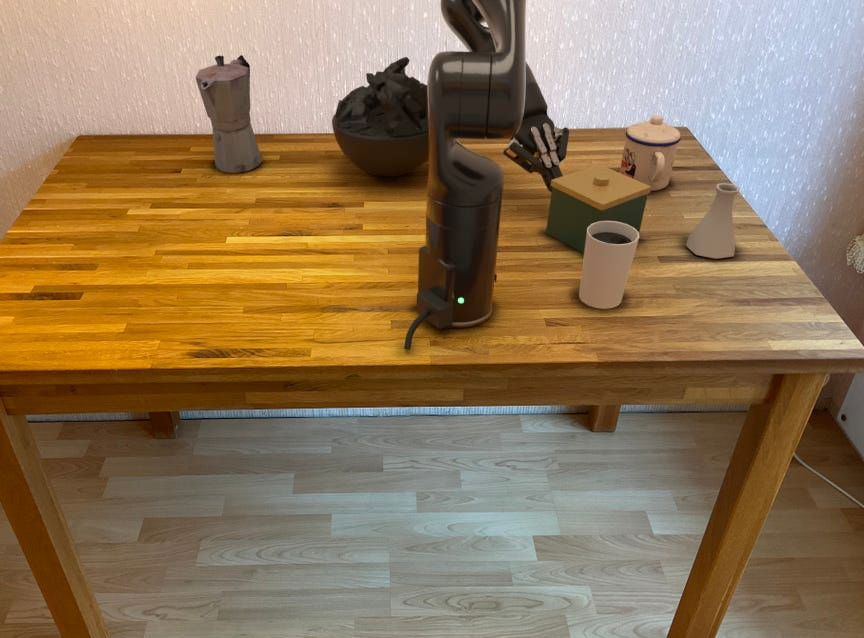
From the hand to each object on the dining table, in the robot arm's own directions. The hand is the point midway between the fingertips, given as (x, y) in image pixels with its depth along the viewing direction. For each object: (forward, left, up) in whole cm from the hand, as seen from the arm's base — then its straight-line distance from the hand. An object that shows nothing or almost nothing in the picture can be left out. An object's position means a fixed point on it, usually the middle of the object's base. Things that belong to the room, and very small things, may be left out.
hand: (559, 190), depth 118 cm
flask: (+12, -21, -5) cm, 25 cm away
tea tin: (0, -8, -5) cm, 9 cm away
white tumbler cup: (-12, -21, -5) cm, 25 cm away
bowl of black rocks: (-12, +31, -5) cm, 34 cm away
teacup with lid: (+22, 0, -5) cm, 23 cm away
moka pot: (-33, +51, -5) cm, 61 cm away
